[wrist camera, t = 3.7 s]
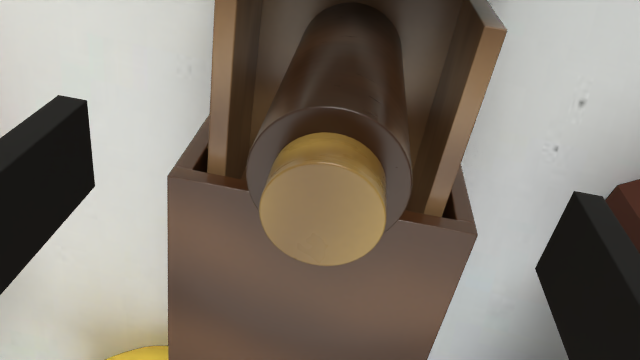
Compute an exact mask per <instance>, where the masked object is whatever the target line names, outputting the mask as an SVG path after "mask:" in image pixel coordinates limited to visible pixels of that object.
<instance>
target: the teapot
mask: <svg viewBox="0 0 640 360" xmlns="http://www.w3.org/2000/svg"><path fill="white" fill-rule="evenodd" d="M105 360H168V346H150V347H143V348H138V349H134V350H131V351H127V352H124V353H121V354H118V355H116V356H113V357H110V358H108V359H105Z"/></svg>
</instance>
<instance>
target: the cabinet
mask: <svg viewBox="0 0 640 360" xmlns="http://www.w3.org/2000/svg"><path fill="white" fill-rule="evenodd" d="M209 120H210V114H209V116H208V117H207V119H206V120H205V122H204V123H203V125H202V126H201V128H200V129H199V131H198V132H197V133H196V135H195V136H194V138H193V139H192V141H191V142H190V144H189V145H188V147H187V148H186V150H185V151H184V153H183V154H182V156H181V157H180V159H179V160H178V162H177V163H176V164H175V166H174V167H173V169H172V170H171V172H170V173H169V175H168V176H167V185H168V360H427V358H428V356H429V353H430V351H431V348H432V346H433V344H434V341H435V339H436V336H437V334H438V331H439V329H440V326H441V324H442V321H443V319H444V317H445V314H446V312H447V309H448V307H449V304H450V302H451V299H452V297H453V295H454V292H455V290H456V287H457V285H458V282H459V280H460V277H461V275H462V272H463V270H464V268H465V265H466V263H467V260H468V258H469V255H470V253H471V250H472V248H473V246H474V243H475V241H476V238H477V236H478V234H477V230H476V226H475V222H474V218H473V214H472V209H471V205H470V201H469V197H468V193H467V189H466V185H465V180H464V176H463V172H462V168H461V164H460V166H459V169H458V172H457V175H456V178H455V181H454V184H453V186H452V189H451V192H450V195H449V198H448V201H447V203H446V206H445V209H444V212H443V215H442V217H438V216H432V215H427V214H422V213H417V212H411V211H406V210H405V211H404V212H403V214H402V216H401V217H400V218H399V219H398V221H397V222H396V223H395V224H394V225H393V226H392V227H391V228H390V229H389V230H388V231H386V232H385V233H383V235H382V237H381V239H380V241H379V242H378V243H377V244H376V246H375V247H374V248H373V249H372V250H371V251H370V252H369V253H367V254H366V255H365V256H363V257H361V258H359V259H358V260H355V261H353V262H350V263H347V264H343V265H337V266H318V265H311V264H307V263H304V262H301V261H298V260H296V259H294V258H292V257H290V256H288V255H286V254H285V253H283V252H282V251H281V250H279V249H278V248H277V247H276V246H275V245H274V244H273V243H272V242H271V240H270V239H269V238H268V236H267V235H266V233H265V231H264V229H263V227H262V224H261V221H260V216H259V211H258V210H257V208H256V206H255V205H254V203H253V201H252V198H251V196H250V193H249V190H248V186H247V180H243V179H237V178H232V177H227V176H222V175H216V174H211V173H207V165H208V142H209Z"/></svg>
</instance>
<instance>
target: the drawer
mask: <svg viewBox="0 0 640 360" xmlns="http://www.w3.org/2000/svg"><path fill="white" fill-rule="evenodd" d="M350 2H354V3H361V4H365V5H368V6H371V7H373V8H375V9H377V10H379V11H380V12H381V13H383V14H384V15H385V16H386V17H387V18H388V19H389V20H390V21H391V22H392V24H393V25H394V26H395V28H396V30H397V32H398V35H399V37H400V41H401V46H402V57H403V70H404V82H405V94H406V106H407V118H408V130H409V142H410V155H411V167H412V179H413V181H412V192H411V196H410V200H409V202H408V205H407V207H406V209H405V210H406V211H411V212H417V213H422V214H427V215H432V216H438V217H442V215H443V212H444V209H445V206H446V203H447V201H448V198H449V195H450V192H451V189H452V186H453V184H454V181H455V178H456V175H457V172H458V169H459V166H460V164H461V161H462V158H463V155H464V152H465V149H466V147H467V144H468V141H469V138H470V135H471V132H472V130H473V127H474V124H475V121H476V118H477V115H478V112H479V110H480V107H481V104H482V101H483V98H484V95H485V93H486V90H487V87H488V84H489V81H490V78H491V76H492V73H493V70H494V67H495V64H496V61H497V58H498V56H499V53H500V50H501V47H502V44H503V41H504V39H505V36H506V33H507V29H506V28H505V26H504V25H503V23H502V22H501V20H500V19H499V18H498V16H497V15H496V13H495V12H494V10H493V9H492V7H491V6H490V4H489V3H488V2H487V0H215V7H214V29H213V52H212V74H211V97H210V120H209V142H208V165H207V173H211V174H216V175H222V176H227V177H232V178H237V179H243V180H246V165H247V159H248V156H249V153H250V150H251V147H252V145H253V143H254V141H255V139H256V136H257V134H258V132H259V130H260V128H261V126H262V123H263V121H264V119H265V117H266V115H267V112H268V110H269V108H270V106H271V104H272V102H273V99H274V97H275V95H276V93H277V91H278V88H279V86H280V84H281V82H282V80H283V77H284V75H285V73H286V71H287V69H288V67H289V64H290V62H291V60H292V58H293V56H294V53H295V51H296V49H297V47H298V45H299V43H300V40H301V38H302V36H303V34H304V32H305V30H306V28H307V26H308V25H309V23H310V22H311V21H312V20H313V18H314V17H315V16H316V15H318V14H319V13H320V12H322V11H323V10H325V9H326V8H329V7H331V6H333V5H336V4H340V3H350Z"/></svg>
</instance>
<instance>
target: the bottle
mask: <svg viewBox="0 0 640 360" xmlns="http://www.w3.org/2000/svg"><path fill="white" fill-rule="evenodd" d="M246 180H247V186H248V190H249V193H250V196H251V198H252V201H253V203H254V205H255V206H256V208H257V210H258V211H259V216H260V221H261V224H262V227H263V229H264V231H265V233H266V235H267V236H268V238H269V239H270V240H271V242H272V243H273V244H274V245H275V246H276V247H277V248H278V249H279V250H281V251H282V252H283V253H285V254H286V255H288V256H290V257H292V258H294V259H296V260H298V261H301V262H304V263H307V264H311V265H318V266H337V265H343V264H347V263H350V262H353V261H355V260H358V259H359V258H361V257H363V256H365V255H366V254H367V253H369V252H370V251H371V250H372V249H373V248H374V247H375V246H376V244H377V243H378V242H379V241H380V239H381V237H382V235H383V233H385V232H386V231H388V230H389V229H390V228H391V227H392V226H393V225H394V224H395V223H396V222H397V221H398V219H399V218H400V217H401V216H402V214H403V212H404V211H405V209H406V207H407V205H408V202H409V200H410V196H411V192H412V181H413V179H412V167H411V155H410V142H409V130H408V118H407V106H406V94H405V82H404V70H403V57H402V46H401V41H400V37H399V35H398V32H397V30H396V28H395V26H394V25H393V24H392V22H391V21H390V20H389V19H388V18H387V17H386V16H385V15H384V14H383V13H381V12H380V11H379V10H377V9H375V8H373V7H371V6H368V5H365V4H361V3H354V2H350V3H340V4H336V5H333V6H331V7H329V8H326V9H325V10H323V11H322V12H320V13H319V14H318V15H316V16H315V17H314V18H313V20H312V21H311V22H310V23H309V25H308V26H307V28H306V30H305V32H304V34H303V36H302V38H301V40H300V43H299V45H298V47H297V49H296V51H295V53H294V56H293V58H292V60H291V62H290V64H289V67H288V69H287V71H286V73H285V75H284V77H283V80H282V82H281V84H280V86H279V88H278V91H277V93H276V95H275V97H274V99H273V102H272V104H271V106H270V108H269V110H268V112H267V115H266V117H265V119H264V121H263V123H262V126H261V128H260V130H259V132H258V134H257V136H256V139H255V141H254V143H253V145H252V147H251V150H250V153H249V156H248V159H247V165H246Z"/></svg>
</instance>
